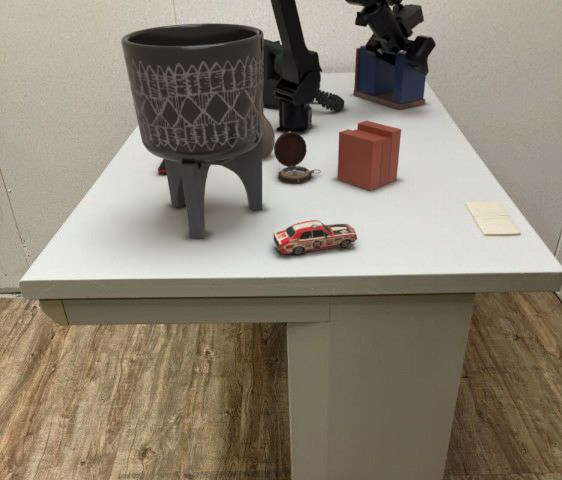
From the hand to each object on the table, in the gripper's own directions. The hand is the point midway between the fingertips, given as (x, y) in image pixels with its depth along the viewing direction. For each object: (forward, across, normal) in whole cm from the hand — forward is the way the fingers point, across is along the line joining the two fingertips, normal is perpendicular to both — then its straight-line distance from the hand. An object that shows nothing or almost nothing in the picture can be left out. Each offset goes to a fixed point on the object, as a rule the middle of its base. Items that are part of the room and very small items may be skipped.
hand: (415, 70), depth 147 cm
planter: (-46, -32, +58) cm, 81 cm away
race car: (-41, -52, +52) cm, 84 cm away
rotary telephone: (-9, +22, +21) cm, 32 cm away
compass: (-31, -26, +42) cm, 58 cm away
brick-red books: (-24, -35, +35) cm, 55 cm away
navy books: (+4, +12, +6) cm, 14 cm away
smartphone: (-41, -5, +52) cm, 66 cm away
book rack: (+4, +7, +6) cm, 11 cm away
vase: (-31, -11, +42) cm, 53 cm away
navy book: (+4, 0, +6) cm, 7 cm away
